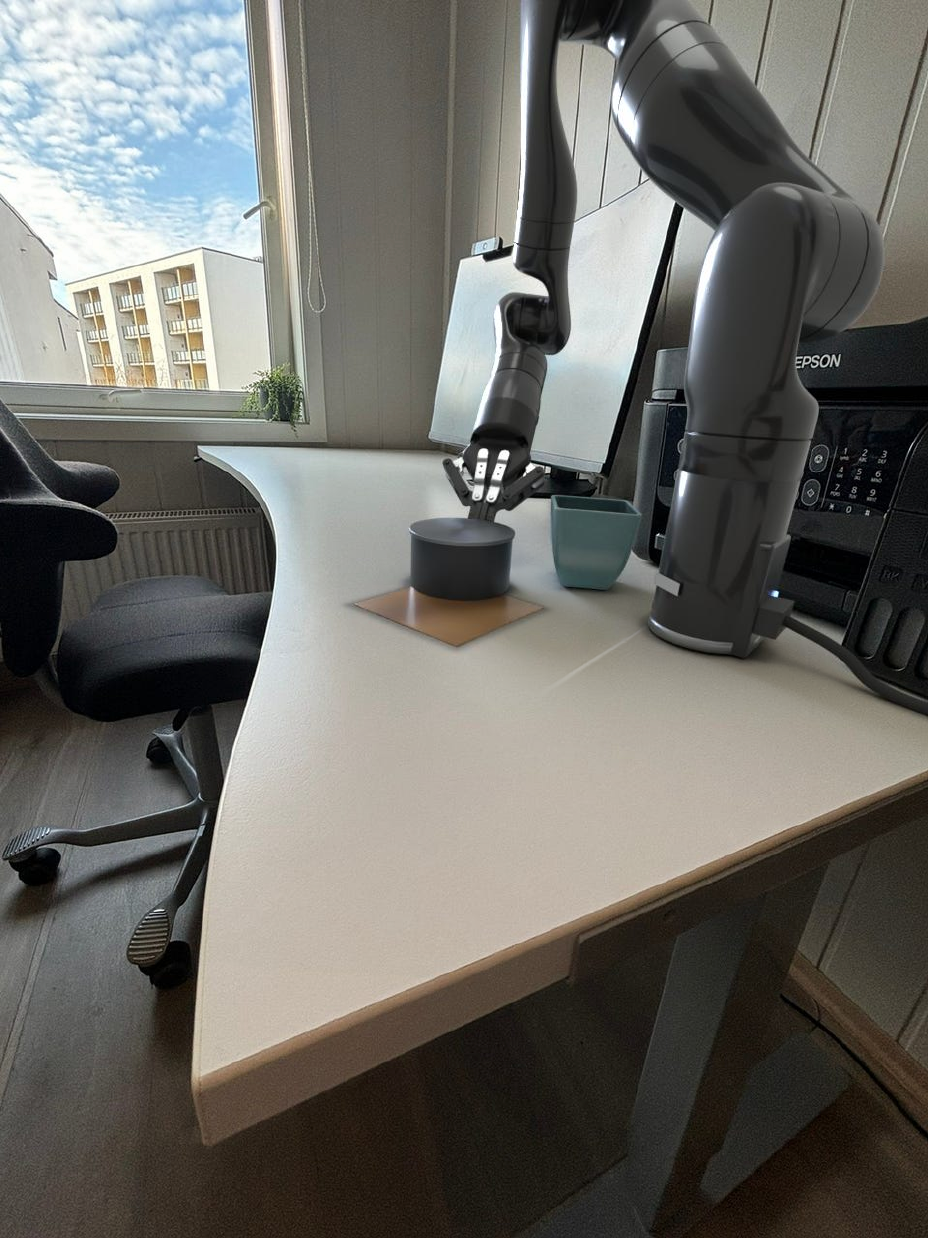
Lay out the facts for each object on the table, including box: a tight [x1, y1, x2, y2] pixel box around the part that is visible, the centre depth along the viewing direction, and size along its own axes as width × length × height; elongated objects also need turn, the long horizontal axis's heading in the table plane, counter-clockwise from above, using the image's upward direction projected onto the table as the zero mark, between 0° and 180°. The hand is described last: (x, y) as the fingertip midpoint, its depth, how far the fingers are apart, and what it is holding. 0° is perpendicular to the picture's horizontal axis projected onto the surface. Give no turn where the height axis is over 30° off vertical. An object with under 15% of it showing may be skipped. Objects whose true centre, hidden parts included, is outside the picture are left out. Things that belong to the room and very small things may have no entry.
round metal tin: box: [408, 517, 516, 601], centre depth 60 cm, size 11×11×6 cm
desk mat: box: [353, 586, 544, 648], centre depth 55 cm, size 13×13×1 cm
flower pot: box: [549, 494, 643, 591], centre depth 62 cm, size 9×9×9 cm
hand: (477, 534), depth 65 cm, fingers closed
